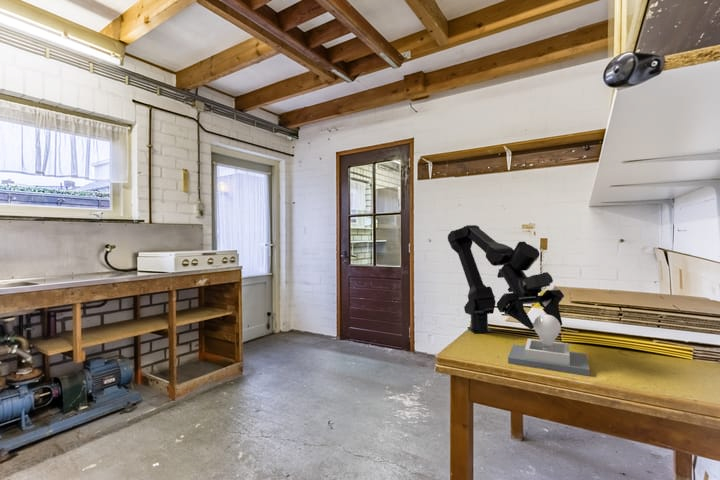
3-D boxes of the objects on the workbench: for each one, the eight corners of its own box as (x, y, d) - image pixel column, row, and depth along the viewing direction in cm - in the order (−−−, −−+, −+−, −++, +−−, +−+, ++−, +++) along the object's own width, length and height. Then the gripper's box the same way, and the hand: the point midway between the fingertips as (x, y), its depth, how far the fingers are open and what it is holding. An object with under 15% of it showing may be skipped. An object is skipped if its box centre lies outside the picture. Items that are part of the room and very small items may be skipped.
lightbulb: (530, 355, 90) (529, 314, 90) (539, 349, 95) (538, 310, 94) (556, 361, 86) (555, 318, 86) (564, 355, 90) (563, 314, 90)
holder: (508, 363, 89) (507, 348, 89) (513, 349, 100) (513, 336, 100) (589, 376, 80) (589, 359, 80) (586, 359, 90) (585, 344, 90)
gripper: (502, 264, 92) (533, 313, 82) (558, 261, 97) (594, 307, 86) (485, 288, 100) (511, 336, 90) (537, 284, 105) (568, 329, 94)
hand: (546, 327), depth 90 cm, fingers open, 9 cm apart
